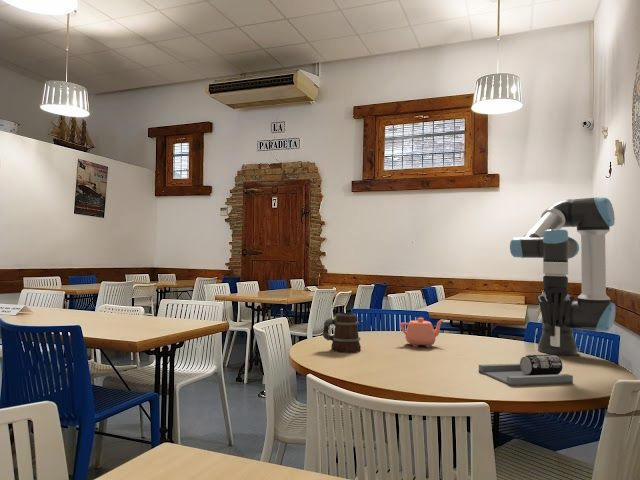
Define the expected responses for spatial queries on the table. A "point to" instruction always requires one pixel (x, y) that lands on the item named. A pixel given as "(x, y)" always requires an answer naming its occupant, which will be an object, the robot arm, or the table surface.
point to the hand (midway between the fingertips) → (555, 346)
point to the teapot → (420, 332)
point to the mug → (343, 333)
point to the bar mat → (521, 375)
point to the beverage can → (541, 365)
